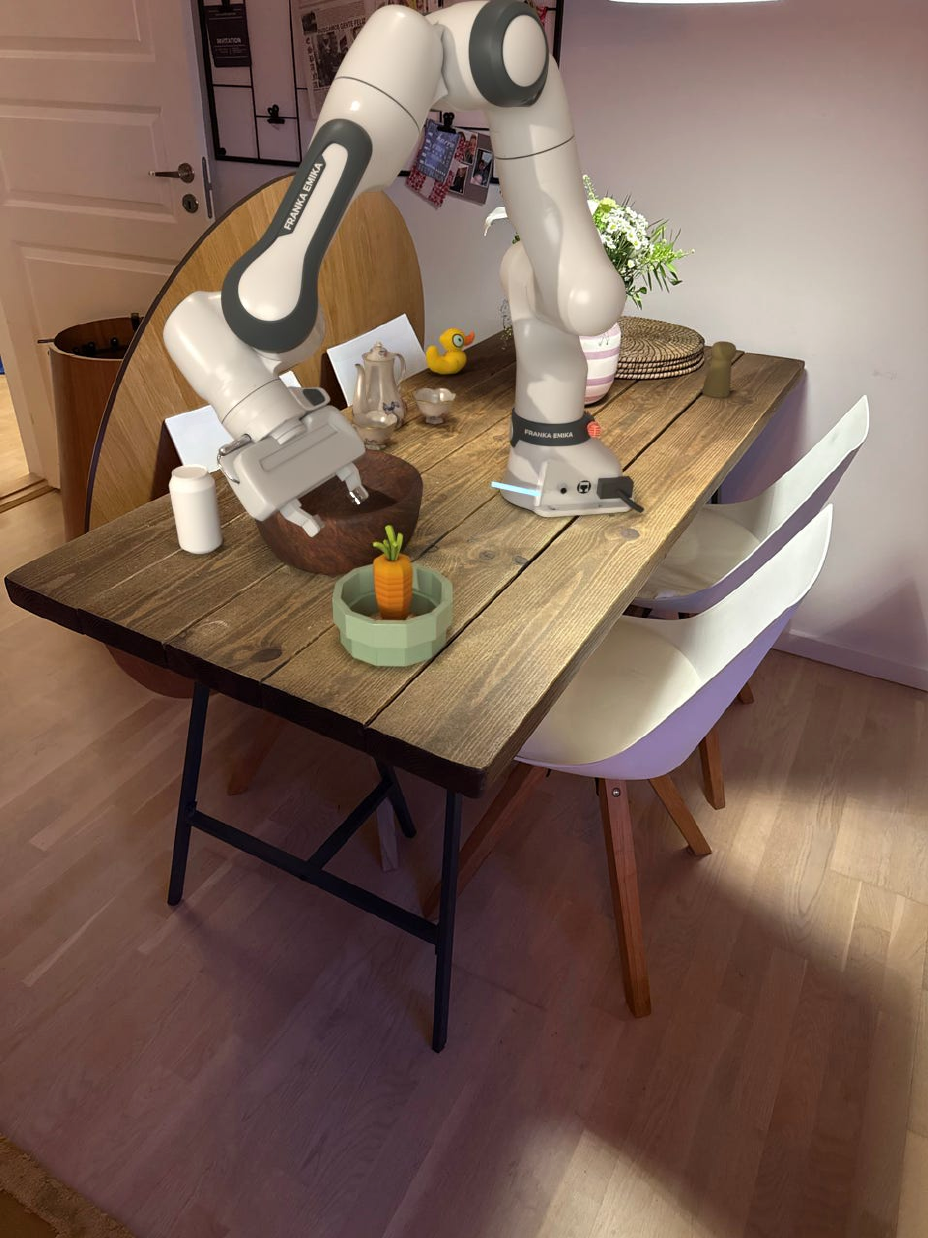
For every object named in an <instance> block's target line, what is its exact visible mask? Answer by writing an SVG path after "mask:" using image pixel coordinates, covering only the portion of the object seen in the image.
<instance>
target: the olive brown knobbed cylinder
mask: <svg viewBox="0 0 928 1238" xmlns="http://www.w3.org/2000/svg"><path fill="white" fill-rule="evenodd" d="M736 354H737V346H736V345H735V344H734V343H733V342H730V341H721V340H720V341H716V342H714V343H713V344H712V346H711V348H710V355H711V357H712V358H711V361H710V364H709V367H708V370H707V373H706V377H705V379H704V383H703V386H702V389H701V393H702V395H705V396H707V397H711V398H727V397H729V396H730V391H731V376H732V375H731V374H732V362H733V361H732V360H733V359H734V358H735V356H736Z"/></svg>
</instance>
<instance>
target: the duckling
mask: <svg viewBox="0 0 928 1238" xmlns="http://www.w3.org/2000/svg"><path fill="white" fill-rule="evenodd" d="M475 337H476V335H475V332H474V331H471V332H470V333H469V334H468V335H466V334H465V332H464V331H463V330H462V329H460V328H458V327H450V328H448V329H446V330H444V332H442V334H440V336H439V342H440V344H441V346H442V347H443V349H444V350H445V351H446V352H445V353H443V354H440V353H439V350H438V348H437V346H436V345H430V346H429V347H427V349H426V352H425V362H426V365H427V367H428V369H430V371H432V372H434V373H436V374H439V375H455V374H458V373H459V372H460V371H461V370H462V369H463V368H464V367H465V365H466V363H467V355H466V353H465V352H464V351H463V348H464V347H468V346H470V345H471V344H473V342H474V340H475Z"/></svg>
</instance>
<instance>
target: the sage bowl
mask: <svg viewBox="0 0 928 1238" xmlns="http://www.w3.org/2000/svg"><path fill="white" fill-rule="evenodd" d="M411 564H412V568H413V584H412V598H411V604H410V609H409V613H412V614H414V615H417V616H415V617H412V618H407V619H406V620H382V619H376V618H372V617H370V616H373V615H376V614H380V612H379V608H378V603H377V598H376V594H375V585H374V572H373V564H370V565H366V566H363V567H359V568H355V569H353V570H352V571H350V572H349V573H348V574H344V575H343V576H342V577H340V578H339V579H338V580H337V581H335V583H334V587H333V593H332V598H331V601H332V604H331V605H332V618H333V619H332V620H333V621H332V622H333V624H335V626H336V627H337V629H339V636H340V637H339V638H340V643H341V644H342V646H343V647H344V648H345V650H346V651H347V652H348V653H349V654H350V656H351V657H352V658H354V659H356V660H359V661H361V662H365V663H367V664H369V665H373V666H375V667H410V666H413V665H415V664H418V663H421V662H425V661H428V660H431V659H432V658H434V657H435V656H436V654H437V653H439V652H440V651H441V650H442V649H443V648H444V647H445V646H446V645H447V629H449V628H450V627H451V626H452V624H453V613H454V612H453V607H454V605H453V604H454V588H453V587H454V584H453V583H452V582H451V581H450V580H449V579H448V578H446V576H444V575H443V574H442V573H441V572H440V571H439V570H438V569H434V568H432V567H429V566H425V565H422V564H419V563H415V562H412V561H411Z"/></svg>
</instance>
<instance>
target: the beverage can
mask: <svg viewBox="0 0 928 1238" xmlns="http://www.w3.org/2000/svg"><path fill="white" fill-rule="evenodd" d="M168 488H169V493H170V499H171V504H172V511H173V515H174V516H173V517H174V522H175V528H176V533H177V540H178V544H179V546H180V547H179V548H181V549H182V550H183V551H186V552H188V553H191V554H195V555H204V554H208V553H212V552H213V551H215V550H216V549H217V548H219V547H220V546H221V545H222V544H223V542H224V541H223V540H224V539H223V529H222V524H221V515H220V508H219V501H218V495H217V488H216V480H215V479H214V477H213V476H212V475H211V473H210V472H209V469H208V467H206V466H205V465H201V464H184V465H181V466H178V467H176V468H174V469H173V470H172V472H171V479H170V480H169V484H168Z"/></svg>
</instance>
